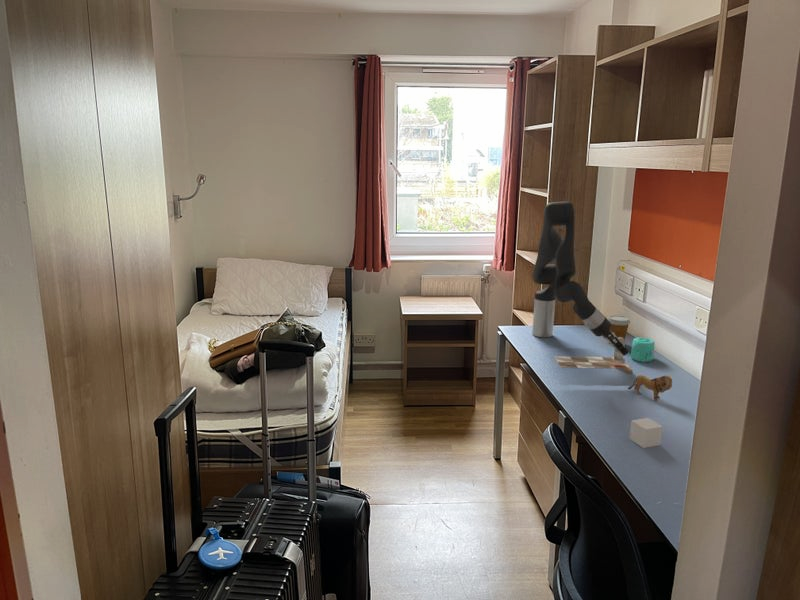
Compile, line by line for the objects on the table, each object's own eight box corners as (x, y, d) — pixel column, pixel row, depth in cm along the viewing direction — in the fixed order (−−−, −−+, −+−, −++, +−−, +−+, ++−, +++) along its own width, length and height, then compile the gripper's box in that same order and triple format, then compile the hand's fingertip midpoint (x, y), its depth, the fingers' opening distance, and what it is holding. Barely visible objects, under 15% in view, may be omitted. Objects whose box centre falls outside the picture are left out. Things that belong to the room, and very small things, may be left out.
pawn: (609, 359, 232) (612, 335, 230) (622, 359, 232) (624, 335, 229) (614, 363, 227) (616, 339, 225) (626, 364, 227) (629, 339, 225)
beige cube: (645, 436, 176) (648, 417, 175) (660, 445, 171) (662, 426, 169) (629, 438, 174) (631, 420, 173) (643, 448, 169) (646, 429, 167)
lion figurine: (672, 399, 202) (675, 375, 200) (666, 404, 198) (670, 379, 196) (630, 388, 212) (632, 364, 210) (624, 392, 208) (626, 368, 206)
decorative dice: (630, 360, 241) (632, 341, 239) (632, 354, 247) (634, 336, 245) (651, 363, 237) (653, 344, 235) (652, 357, 244) (655, 339, 242)
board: (550, 358, 241) (550, 355, 241) (618, 359, 241) (619, 356, 240) (559, 372, 226) (559, 368, 226) (632, 373, 226) (632, 369, 226)
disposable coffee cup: (618, 339, 266) (621, 314, 263) (632, 346, 257) (635, 320, 255) (600, 341, 264) (602, 315, 261) (613, 348, 255) (616, 321, 252)
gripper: (609, 320, 218) (639, 351, 221) (597, 310, 232) (625, 340, 235) (594, 333, 220) (623, 364, 222) (583, 322, 233) (610, 352, 236)
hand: (624, 351), depth 229 cm, fingers closed on pawn, 3 cm apart
